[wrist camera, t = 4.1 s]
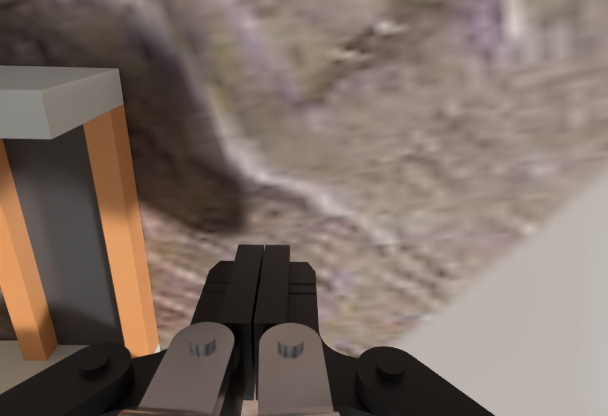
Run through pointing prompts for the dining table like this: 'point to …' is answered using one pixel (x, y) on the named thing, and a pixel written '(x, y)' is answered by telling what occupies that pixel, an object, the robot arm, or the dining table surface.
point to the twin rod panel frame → (68, 220)
